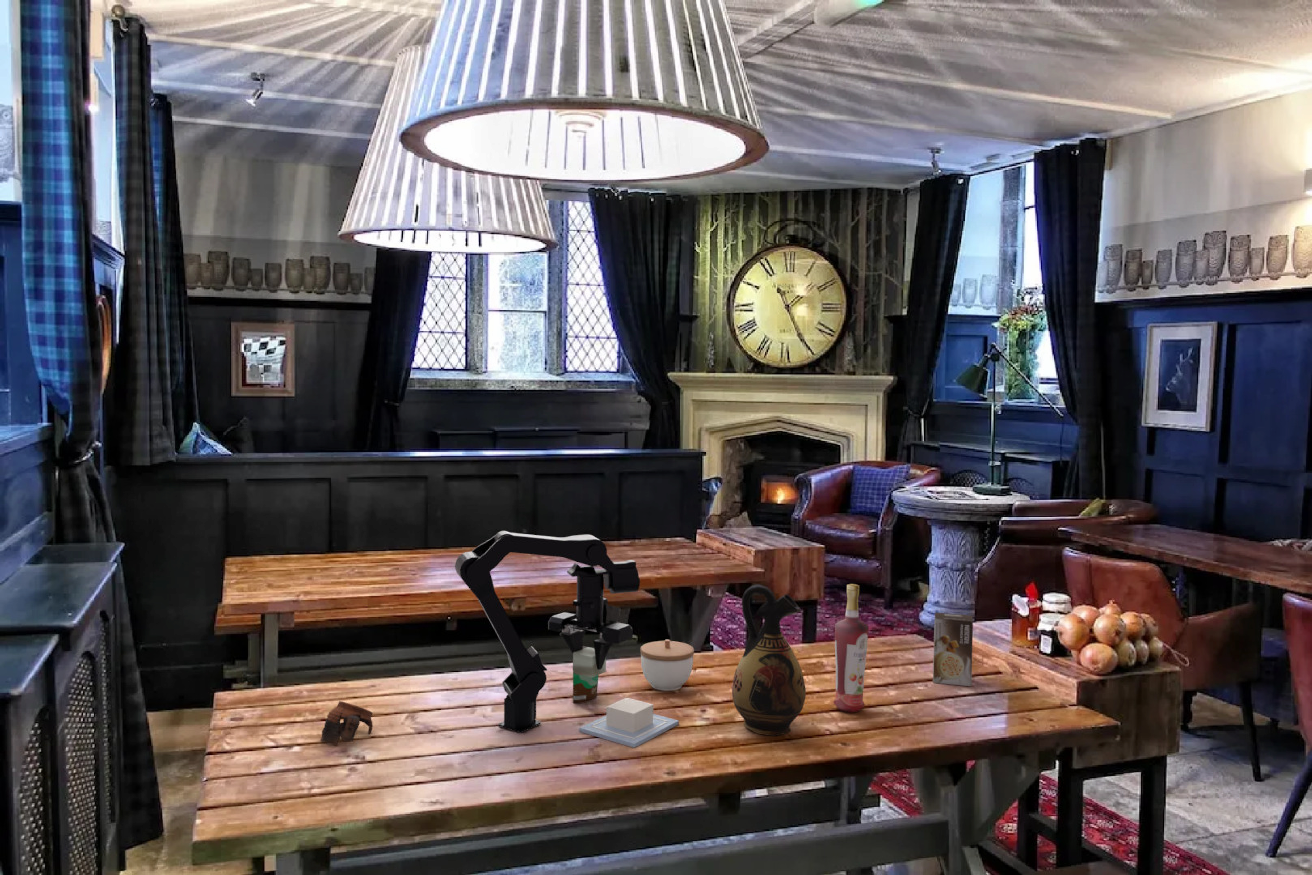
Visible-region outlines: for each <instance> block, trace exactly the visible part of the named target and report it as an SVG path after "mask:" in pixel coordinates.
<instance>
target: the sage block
mask: <svg viewBox="0 0 1312 875" xmlns="http://www.w3.org/2000/svg"><path fill="white" fill-rule="evenodd" d="M586 647H587V648H584V649H582V650H579V651H576V652H574V653H573V654H572V658H573V659H572V675H573V674H578V675H582V676H586V677H591V678H593V677H595V676H597V675H599V676H600V675H602V674H604V673H606V672H607V658H606V659H605V661H604V664H603V667H602V669H600V670H598V669H597V665H596V658H595V649H594V647H591V648H589V646H586Z"/></svg>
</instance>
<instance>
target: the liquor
mask: <svg viewBox="0 0 1312 875" xmlns="http://www.w3.org/2000/svg"><path fill="white" fill-rule="evenodd" d="M846 596H847V600H846V601H847V602H846V609H845V617H844V619H840V620H839V621H837V622H836V623H835V624H834V650H835V651H834V652H835V657H834V658H835V698H834V700H833V705H835V706H836V708H838V710H839V711H841V712H844V713H851V714H852V713H858V712H859V711H860V710H862V708H864V707H865V702H864V701H863V700H864V687H865V686H864V685H865V684H864V683H865V673H866V672H865V671H866V662H867V661H866V660H867V651H868V641H869V640H868V639H869V637H868V636H869V625H867V624H866V623H865V622H864V621H862V620H860V614H859V596H860V585H858V584H856V583H849V584H846Z"/></svg>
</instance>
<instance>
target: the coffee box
mask: <svg viewBox="0 0 1312 875" xmlns="http://www.w3.org/2000/svg"><path fill="white" fill-rule="evenodd" d="M933 627H934V630H933V631H934V633H933V659H932V662H933V663H932V683H933V684H934V683H935V684H943V685H954V686H963V687H972V686H973V685H972V683H973V682H972V678H973V674H972V673H973V640H974V639H973V638H974V636H973V635H974V628H973V627H974V617H973V615H972V614H971V615H970V614H969V615H968V614H957V613H947V612H935V613H934V626H933Z"/></svg>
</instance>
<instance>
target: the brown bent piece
mask: <svg viewBox="0 0 1312 875" xmlns="http://www.w3.org/2000/svg"><path fill="white" fill-rule="evenodd" d="M373 713H374V712H372V711H370V710H368V709H366V708H364V707H360V706H358V705H356V704H354V703H353V704H352V703H348V702H345V701H338V703H337V706H335V707H334V708H333V709H331V710H330V711H329V712H328V714H327V715H326V716H327V718H326V720H325V722H324V727H323V728H322V730H321V737H320V740H321V741H323V742H324V743H327V744H330V745H333V746H337V747H338V745H339V741H340V739H341V740H342V741H343V742H345V743H348V742H352V741H354V739H355V736H356V734H357V731H358V729H359V727H360V725H361V724H360V723H361V722H362V723H364V724H365V725H366V726H368V731H367V734H368V735H371V734H372V730H373V728H374V726H373V719H372V716H373ZM341 719H342V721H343V722H341Z"/></svg>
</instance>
